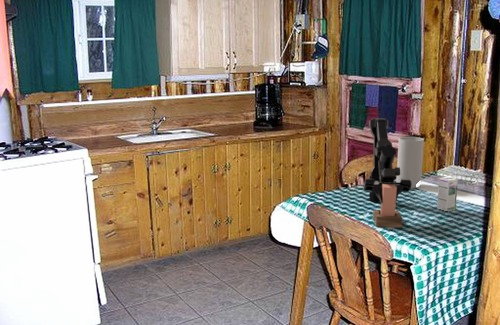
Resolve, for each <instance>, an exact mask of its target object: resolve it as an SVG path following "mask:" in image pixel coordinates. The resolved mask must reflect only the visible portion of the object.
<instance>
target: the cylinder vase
mask: <svg viewBox="0 0 500 325" xmlns="http://www.w3.org/2000/svg"><path fill="white" fill-rule="evenodd" d="M424 145H425V138H422V137H417V136H401V137H399V138H398V145H397V146H398V147H397V162H396V167H400V175H399V176H396V177H395V182H398V183H400V181H401V179H410V181H411V183H412V185H411V188H410V189H417V188H416V184H417V183H418V182H419V181H420V180H421V181H422V175H423V173H422V172H423V160H424V147H425V146H424Z"/></svg>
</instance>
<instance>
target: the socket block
mask: <svg viewBox="0 0 500 325" xmlns="http://www.w3.org/2000/svg"><path fill="white" fill-rule="evenodd" d="M380 210H381V209H373V214H372V217H373V218H372V220H373V222H374V224H375V227H376V228H380V227H381V228H403V217H402V215H401V213H400V211H399V210H396V209H395V216H380Z"/></svg>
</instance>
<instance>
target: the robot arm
mask: <svg viewBox="0 0 500 325" xmlns="http://www.w3.org/2000/svg"><path fill="white" fill-rule="evenodd" d="M368 128H369V129H370V131H369V132H370V134H371V136H372V137H373V167H372V169H371V171H370V172H369V176H368V178H365V180H364V182H363V191H369V196H368V197H369V198H366V200H367V201H371V202H374V203H380V204H381V203H383V198H382V184H395V186H396V187H397V191H396V202H397V201H398V197H399V195H400V194H402V193H403V192H411V191H410V190H411V189H412V188H411V185H412V183H411V181H410V179H401V181H400V183H398V182H396V178H397V176H399V175H400V167H397V166H395V167H394V166H393V163H394V161H395V157H396V155H397V150H396V149H395V147H393V144H392V141H390V140H389V136H388V129H389V119H386V118H385V117H384V118H381V117H380V118H376V117H371V119H369V121H368Z"/></svg>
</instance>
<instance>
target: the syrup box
mask: <svg viewBox="0 0 500 325" xmlns="http://www.w3.org/2000/svg"><path fill="white" fill-rule="evenodd" d="M458 180H459V179H458V178H456V177H453V176H443V177H439V178H438V187H437V191H438V192H437V201H436V202H437V203H436V204H437V205H436V209H437V210H439V209H441V210H440V211H442V210H444V211H443V212H445V211H448V212H451V211H452V210H453V211H456V209H457V195H458V183H459V182H458Z"/></svg>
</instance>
